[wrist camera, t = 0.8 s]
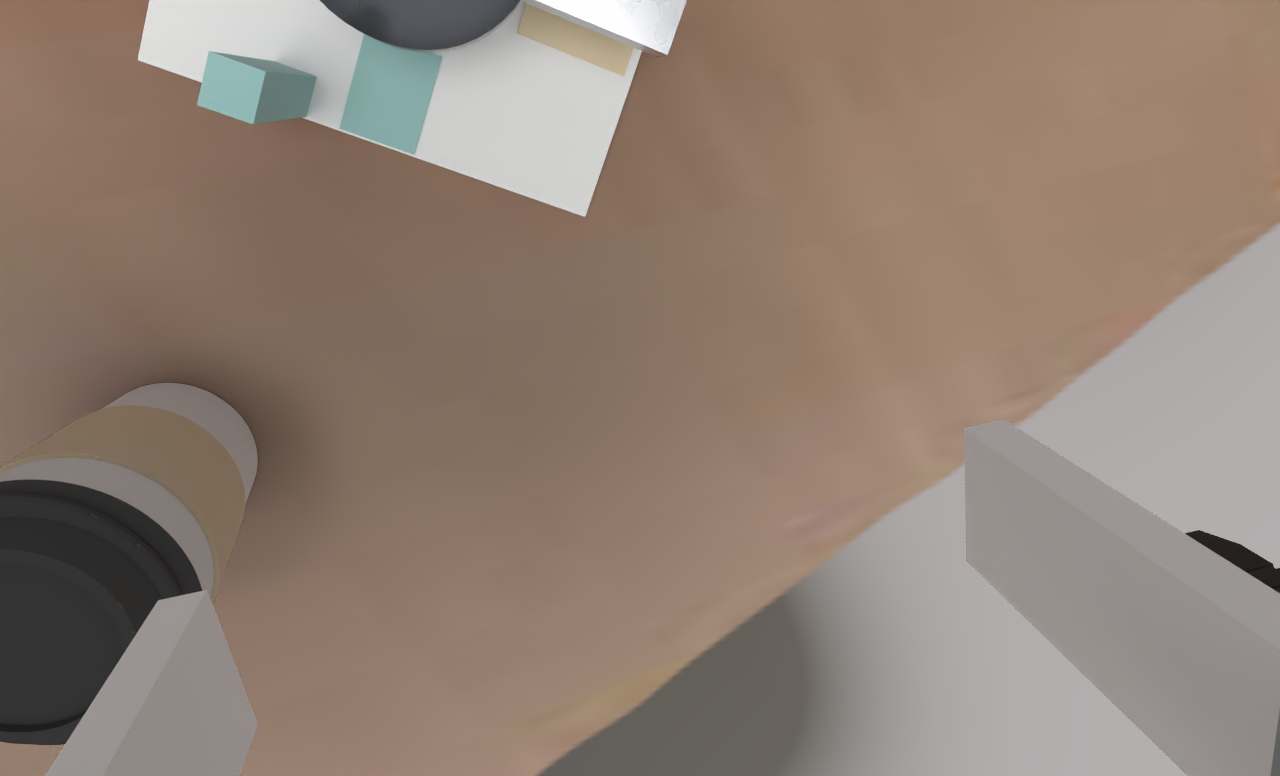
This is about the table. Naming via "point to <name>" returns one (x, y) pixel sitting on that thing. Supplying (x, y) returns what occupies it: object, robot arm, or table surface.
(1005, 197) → the table surface
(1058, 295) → the table surface
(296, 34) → the lock base
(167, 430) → the coffee cup
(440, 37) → the knob
